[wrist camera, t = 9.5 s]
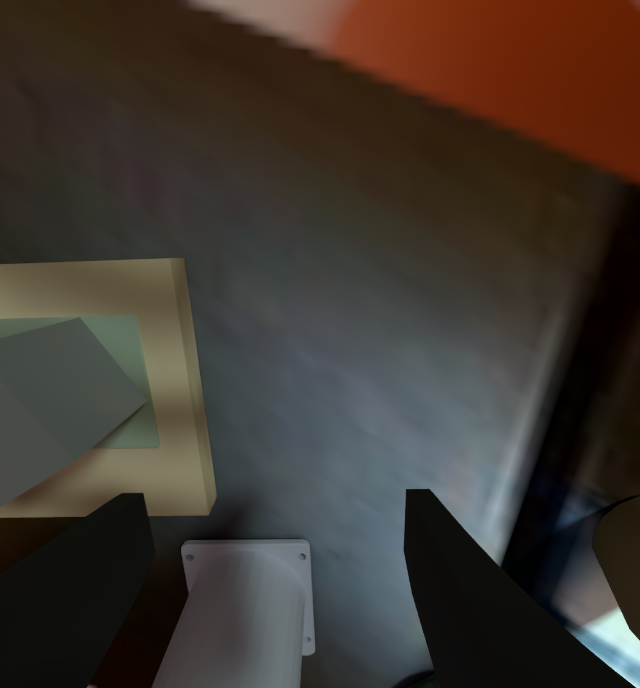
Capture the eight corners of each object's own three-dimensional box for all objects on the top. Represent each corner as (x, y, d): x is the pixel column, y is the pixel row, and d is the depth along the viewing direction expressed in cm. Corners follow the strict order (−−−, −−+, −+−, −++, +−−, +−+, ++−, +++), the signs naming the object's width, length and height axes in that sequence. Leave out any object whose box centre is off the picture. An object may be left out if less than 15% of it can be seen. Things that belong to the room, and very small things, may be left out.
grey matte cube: (147, 401, 17) (75, 461, 12) (74, 446, 18) (-21, 519, 13) (79, 317, 16) (-31, 346, 11) (5, 369, 16) (-128, 418, 12)
